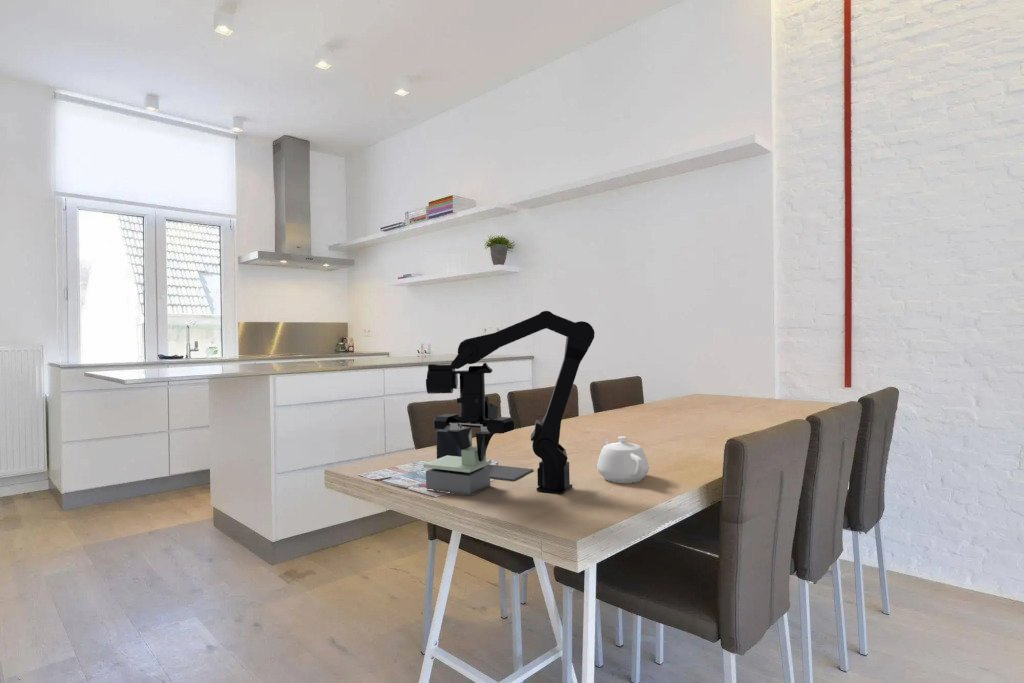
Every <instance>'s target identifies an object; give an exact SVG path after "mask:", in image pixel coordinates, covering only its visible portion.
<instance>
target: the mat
mask: <svg viewBox="0 0 1024 683" xmlns="http://www.w3.org/2000/svg"><path fill="white" fill-rule="evenodd" d="M485 467H490V479H492V478H494V480H503V481H510V482H515V481H516V480H518V479H521V478H522V477H524V476H526V475H528V474H530V473H531V471H532V472H533V471H534V469H533V468H526V467H517V466H509V465H498V464H489V465H486V466H485Z"/></svg>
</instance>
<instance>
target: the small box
mask: <svg viewBox="0 0 1024 683" xmlns="http://www.w3.org/2000/svg"><path fill="white" fill-rule="evenodd" d="M469 428H471V430H470V433H469V447H471V446H473V429H472V428H473V427H469ZM449 430H450V425H447V427H446V428H445V429H437V430H436V459H439V458H441V457H444V456H447V455H448V456H458V457H462V454H461V451H460V449H459V447H458V445H457V443H456V441H455V440H454V438H453V437H452V435H451V434H450V433H448V431H449Z"/></svg>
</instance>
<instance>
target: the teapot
mask: <svg viewBox="0 0 1024 683" xmlns="http://www.w3.org/2000/svg"><path fill="white" fill-rule="evenodd" d="M617 440H618V441H619V442H613V443H612V442H611V443H610V440H609V439H608V438H607V439H604V443H605V444H604V446H603V448H602V449H601V451H600V453H599V457H598V460H597V465H596V468H597V471H598V473H599V474H600V475H601V476H602V477H603V479H604V478H605V479H604V480H605V481H607V480H608V482H610V481H612V482H611V483H616V482H617V484H633V483H632V482H634V483H637V481H638V482H641V481H642V480H643V478H645V477H646V476H647V474H648V473H649V470H650V465H649V462H648V459H647V458H648V457H647V456H646V453H645V451H644V450H643V448H642V446H641V445H639V444H635V443H632V442H626V440H627V436H624V435H623V436H621V435H620V436H618V437H617Z"/></svg>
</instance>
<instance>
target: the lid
mask: <svg viewBox="0 0 1024 683" xmlns="http://www.w3.org/2000/svg"><path fill="white" fill-rule="evenodd" d="M461 454H462V457H458V456H448V455H447V456H444V457H441V458H439V459H437V458H435V459H433V460H431V461H428V462H425V463H423V468H425V469H426V468H427V469H432V468H433V469H442V470H450V471H459V472H468V473H470V472H472V471H475V470H477V469H479V468H482V467H484V466H486V465H489V464H490V465H492V459H487V452H486V453H485V456H484V459H483V461H481V462H480V461H479V458H478V451H477V445H472V446H471V447H469V448H466V449H463V450H461Z"/></svg>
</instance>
